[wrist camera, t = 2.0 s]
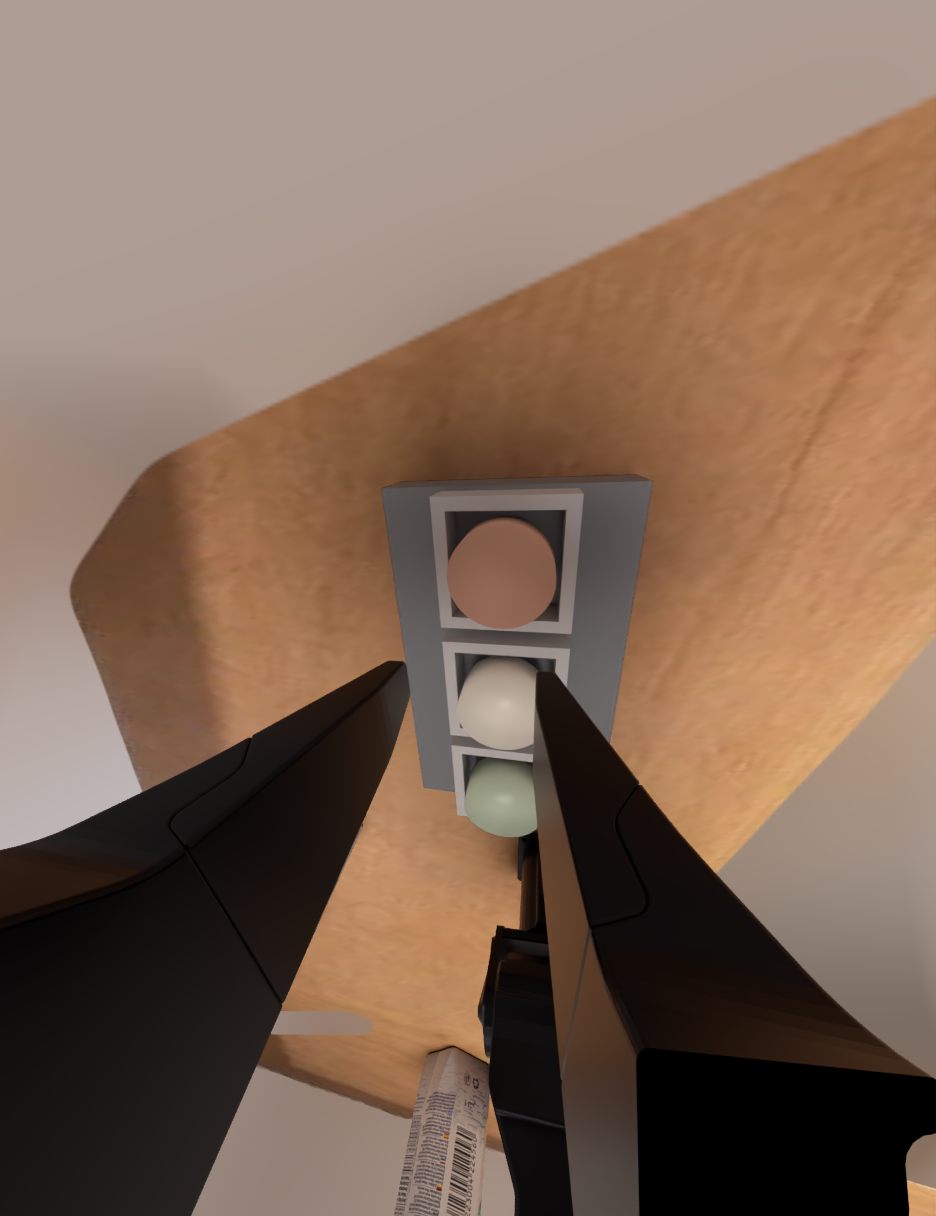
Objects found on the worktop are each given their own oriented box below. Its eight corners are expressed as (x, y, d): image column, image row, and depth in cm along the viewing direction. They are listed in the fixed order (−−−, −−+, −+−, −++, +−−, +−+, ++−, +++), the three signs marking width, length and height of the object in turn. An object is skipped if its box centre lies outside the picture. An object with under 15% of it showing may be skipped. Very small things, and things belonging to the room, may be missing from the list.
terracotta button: (552, 611, 17) (553, 631, 15) (460, 607, 17) (450, 626, 16) (557, 515, 15) (559, 525, 13) (454, 516, 16) (442, 526, 14)
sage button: (540, 810, 23) (539, 842, 21) (471, 800, 23) (465, 830, 22) (543, 760, 21) (543, 790, 19) (468, 751, 22) (462, 779, 20)
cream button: (545, 726, 20) (545, 754, 18) (466, 718, 20) (459, 744, 19) (549, 658, 18) (550, 682, 16) (462, 652, 19) (454, 675, 17)
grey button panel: (592, 773, 26) (602, 839, 22) (434, 754, 28) (415, 810, 24) (636, 474, 17) (666, 486, 13) (403, 481, 20) (364, 493, 15)
